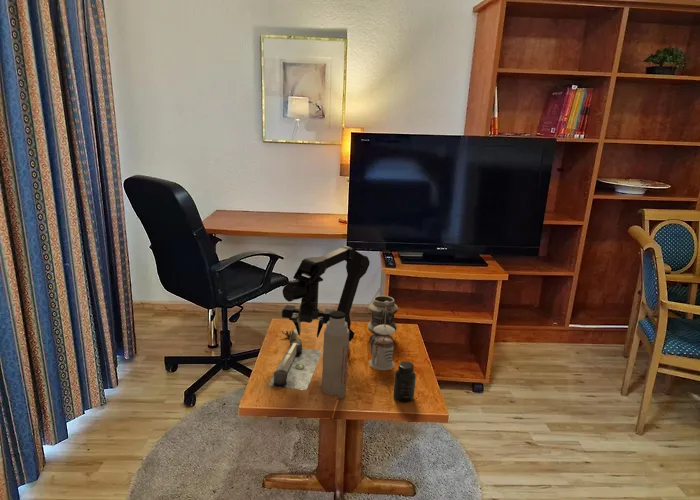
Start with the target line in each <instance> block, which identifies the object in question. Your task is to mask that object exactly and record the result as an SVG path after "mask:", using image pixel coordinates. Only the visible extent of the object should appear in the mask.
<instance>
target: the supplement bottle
mask: <svg viewBox="0 0 700 500" xmlns="http://www.w3.org/2000/svg"><path fill="white" fill-rule="evenodd" d="M397 368H398V369H396V371H395V372H394V382H393V383H394V384H393V395H392V396H393V398H394V399H395V401H398V402H400V403H404V404H406V403H410V402H412V401H413V400H414V399H415V391H416V381H417V375H416V373H415V371H414V370H415V369H414V363H412V362H411V361H406V360H405V361H400V362H399V364H398V367H397Z"/></svg>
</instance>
